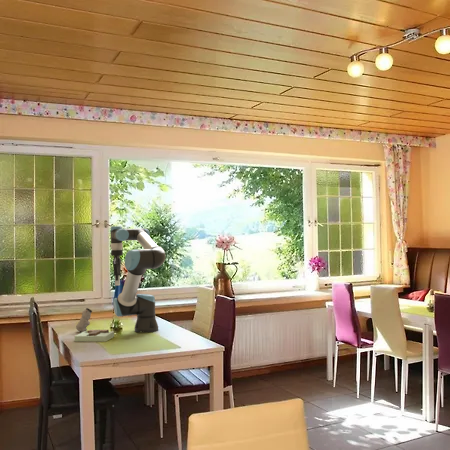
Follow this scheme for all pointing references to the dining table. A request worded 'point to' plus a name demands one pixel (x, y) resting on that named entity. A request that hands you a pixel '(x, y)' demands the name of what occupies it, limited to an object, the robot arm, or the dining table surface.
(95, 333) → the t block
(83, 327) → the figurine
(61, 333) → the dining table surface
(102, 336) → the slot frame
